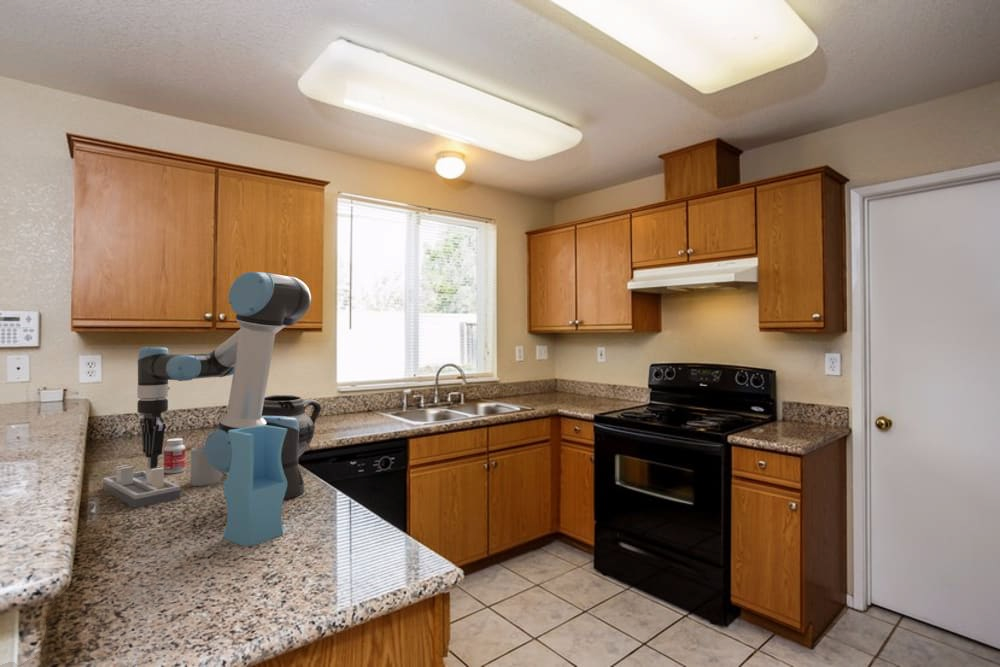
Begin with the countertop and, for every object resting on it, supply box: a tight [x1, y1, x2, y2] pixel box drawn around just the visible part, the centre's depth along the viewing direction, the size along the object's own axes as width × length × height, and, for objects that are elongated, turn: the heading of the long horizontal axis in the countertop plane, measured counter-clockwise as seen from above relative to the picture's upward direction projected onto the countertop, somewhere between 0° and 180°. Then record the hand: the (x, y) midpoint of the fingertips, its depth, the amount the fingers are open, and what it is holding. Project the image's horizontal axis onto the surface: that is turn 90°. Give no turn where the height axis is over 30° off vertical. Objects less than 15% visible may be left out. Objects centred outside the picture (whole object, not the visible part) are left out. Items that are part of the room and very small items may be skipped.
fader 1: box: [115, 464, 134, 486], centre depth 151 cm, size 4×3×5 cm
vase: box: [222, 425, 287, 547], centre depth 120 cm, size 10×10×25 cm
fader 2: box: [147, 465, 165, 487], centre depth 150 cm, size 4×3×5 cm
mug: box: [189, 445, 222, 487], centre depth 164 cm, size 12×8×11 cm
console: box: [102, 470, 181, 509], centre depth 150 cm, size 27×11×3 cm, turn 53°
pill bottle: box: [163, 437, 186, 475], centre depth 174 cm, size 6×6×11 cm
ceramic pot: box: [262, 394, 322, 458], centre depth 184 cm, size 29×23×25 cm
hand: (152, 477), depth 151 cm, fingers closed
